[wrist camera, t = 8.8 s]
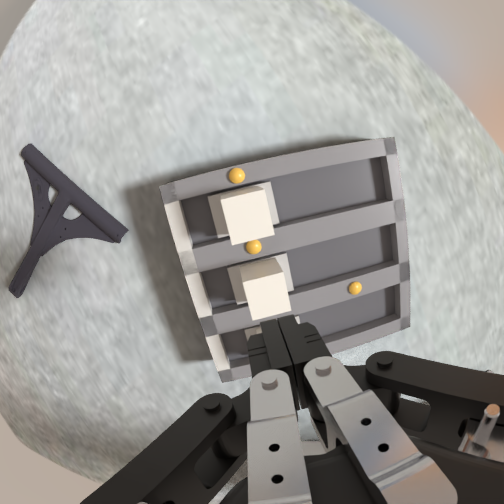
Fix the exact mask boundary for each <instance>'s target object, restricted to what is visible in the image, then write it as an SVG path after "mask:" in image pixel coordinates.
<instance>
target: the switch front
mask: <svg viewBox="0 0 504 504" xmlns="http://www.w3.org/2000/svg"><path fill="white" fill-rule="evenodd" d="M208 200H209V204H210V208H211V212H212V216H213V220H214V224H215V228H216V231H217V235H218V238H221V237H225V236H229V235H230V239H231V243H232V245H236V244H240V243H244V242H248V241H252V240H256V239H260V238H264V237H268V236H272V235H275V234H274V229H273V225H274V224H278V223H279V219H278V214H277V209H276V205H275V200H274V196H273V191H272V187H271V182H270V181H267V182H263V183H258V184H254V185H250V186H246V187H241V188H237V189H233V190H229V191H225V192H221V193H217V194H213V195H209V196H208Z"/></svg>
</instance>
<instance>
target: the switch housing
mask: <svg viewBox="0 0 504 504" xmlns="http://www.w3.org/2000/svg"><path fill="white" fill-rule="evenodd" d="M267 181H270V182H271V187H272V191H273V196H274V200H275V205H276V209H277V214H278V219H279V223H278V224H274V225H273V229H274V234H275V235H272V236H268V237H264V238H260V239H256V240H252V241H248V242H244V243H240V244H236V245H232V243H231V239H230V235H229V236H225V237H221V238H218V235H217V231H216V228H215V224H214V220H213V216H212V212H211V208H210V204H209V200H208V196H209V195H213V194H217V193H221V192H225V191H229V190H233V189H237V188H241V187H246V186H250V185H254V184H258V183H263V182H267ZM159 188H160V192H161V196H162V200H163V203H164V207H165V211H166V214H167V218H168V221H169V225H170V228H171V232H172V235H173V239H174V242H175V245H176V249H177V252H178V255H179V259H180V262H181V265H182V268H183V272H184V275H185V278H186V281H187V284H188V287H189V290H190V294H191V297H192V300H193V303H194V306H195V309H196V312H197V315H198V318H199V320H200V323H201V326H202V329H203V332H204V335H205V338H206V341H207V343H208V346H209V349H210V352H211V354H212V357H213V360H214V363H215V365H216V368H217V371H218V373H219V376H220V379H221V381H222V383H224V382H228V381H233V380H238V379H242V378H246V377H251V376H252V374H251V368H250V362H249V355H248V349H247V338H246V334H245V331H244V328H247V327H251V326H255V325H259V324H260V322H262V321H266V320H271V319H275V318H276V320H277V318H279V317H283V316H287V315H291V314H293V315H297V314H298V315H299V319H300V324H301V323H305V322H309V323H310V324H312V325H314V326H315V327H316V329H317V330H318V332H319V334H320V336H321V337H322V339H323V341H324V343H325V345H326V346H327V348H328V350H329V352H330V353H331V354H335V353H338V352H341V351H344V350H347V349H350V348H353V347H356V346H359V345H362V344H365V343H368V342H371V341H373V340H376V339H379V338H382V337H384V336H387V335H390V334H392V333H395V332H398V331H400V330H403V329H405V328H408V327H410V267H409V248H408V234H407V223H406V213H405V203H404V195H403V187H402V180H401V173H400V167H399V160H398V154H397V149H396V143H395V138H394V137H389V138H379V139H371V140H364V141H357V142H351V143H344V144H338V145H332V146H326V147H321V148H315V149H310V150H304V151H299V152H294V153H289V154H284V155H279V156H274V157H270V158H265V159H261V160H256V161H252V162H247V163H243V164H239V165H234V166H230V167H226V168H222V169H218V170H214V171H210V172H206V173H202V174H199V175H195V176H191V177H187V178H184V179H180V180H176V181H173V182H169V183H166V184H164V185H161V186H159ZM283 251H285V252H286V253H287V258H288V263H289V268H290V273H291V278H292V283H293V288H294V290H293V291H289V292H288V296H289V301H290V306H291V311H288V312H285V313H281V314H277V315H273V316H269V317H265V318H262V319H258V320H254V321H253V320H252V316H251V313H250V309H249V305H248V302H246V303H242V304H238V305H237V302H236V299H235V295H234V291H233V288H232V284H231V281H230V277H229V273H228V270H227V265H231V264H235V263H239V262H243V261H247V260H251V259H255V258H259V257H263V256H267V255H271V254H275V253H279V252H283Z"/></svg>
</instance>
